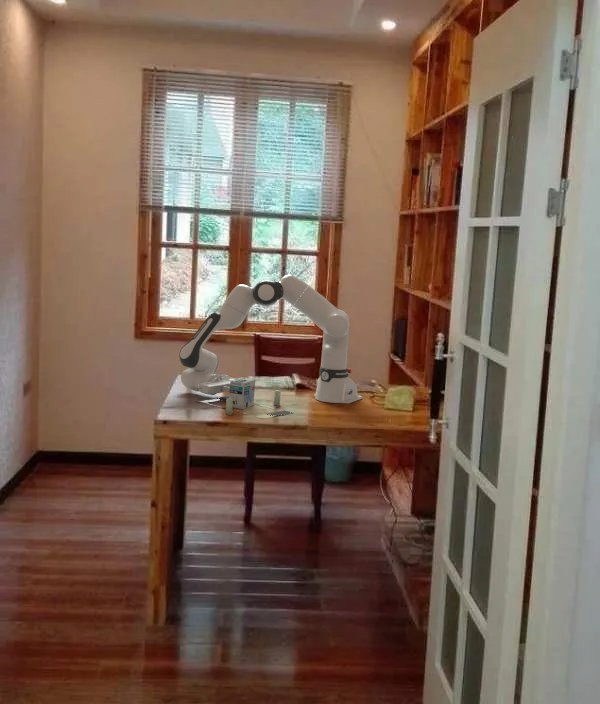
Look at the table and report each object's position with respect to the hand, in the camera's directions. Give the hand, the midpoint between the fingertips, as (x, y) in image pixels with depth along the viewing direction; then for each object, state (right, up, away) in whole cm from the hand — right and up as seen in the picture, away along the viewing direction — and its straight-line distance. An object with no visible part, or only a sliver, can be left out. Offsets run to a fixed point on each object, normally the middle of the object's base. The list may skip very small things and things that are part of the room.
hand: (234, 389), depth 324 cm
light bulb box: (+3, -7, -1) cm, 7 cm away
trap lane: (+4, -7, -3) cm, 9 cm away
